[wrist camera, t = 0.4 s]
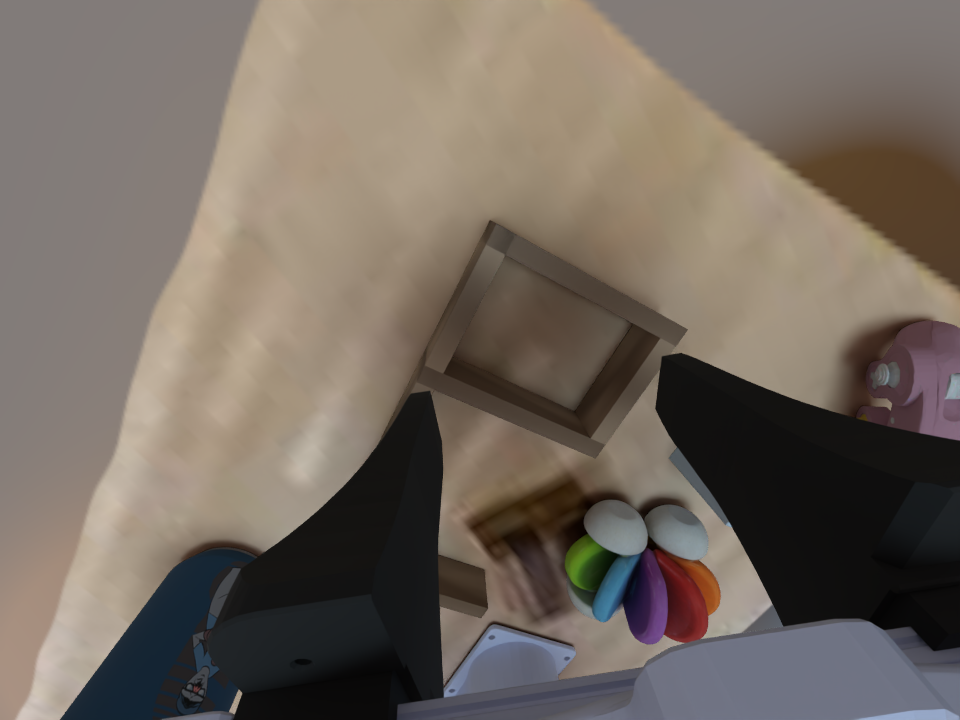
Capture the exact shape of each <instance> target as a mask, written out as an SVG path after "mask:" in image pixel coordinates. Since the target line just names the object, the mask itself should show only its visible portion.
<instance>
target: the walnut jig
mask: <svg viewBox="0 0 960 720" xmlns="http://www.w3.org/2000/svg"><path fill="white" fill-rule="evenodd" d="M505 255H506V256H508V257H510V258H512V259H514V260H516V261H517V262H519V263H521V264H523V265H525V266H527V267H529V268H530V269H532V270H534V271H536V272H538V273H540V274H542V275H544V276H545V277H547V278H549V279H551V280H553V281H555V282H557V283H558V284H560V285H562V286H564V287H566V288H568V289H570V290H572V291H573V292H575V293H577V294H579V295H581V296H583V297H585V298H586V299H588V300H590V301H592V302H594V303H596V304H598V305H600V306H601V307H603V308H605V309H607V310H609V311H611V312H613V313H614V314H616V315H618V316H620V317H622V318H624V319H626V320H627V321H629V322H631V323H633V325H632V327H631V328H630V330H629V331H628V333H627V334H626V336H625V337H624V339H623V340H622V342H621V343H620V345H619V346H618V348H617V349H616V351H615V352H614V354H613V355H612V357H611V358H610V360H609V361H608V363H607V364H606V366H605V367H604V369H603V370H602V372H601V373H600V375H599V376H598V378H597V379H596V381H595V382H594V384H593V385H592V387H591V388H590V390H589V391H588V393H587V394H586V396H585V397H584V399H583V400H582V402H581V403H580V405H579V406H578V408H577V409H576V411H575V412H574V411H572V410H570V409H567V408H565V407H563V406H561V405H559V404H556V403H554V402H552V401H550V400H547V399H545V398H543V397H541V396H539V395H536V394H534V393H532V392H530V391H528V390H525V389H523V388H521V387H519V386H517V385H514V384H512V383H510V382H508V381H506V380H503V379H501V378H499V377H497V376H495V375H492V374H490V373H488V372H486V371H484V370H481V369H479V368H477V367H475V366H472V365H470V364H468V363H466V362H464V361H461V360H459V359H457V358H455V357H453V354H454V352H455V350H456V348H457V346H458V345H459V343H460V341H461V339H462V337H463V335H464V333H465V331H466V329H467V327H468V326H469V324H470V322H471V320H472V318H473V316H474V314H475V312H476V310H477V308H478V307H479V305H480V303H481V301H482V299H483V297H484V295H485V293H486V291H487V289H488V288H489V286H490V284H491V282H492V280H493V278H494V276H495V274H496V272H497V270H498V269H499V267H500V265H501V263H502V261H503V259H504V257H505ZM687 330H688V329H686V328H684V327H682V326H680V325H679V324H677V323H675V322H673V321H671V320H670V319H668V318H666V317H664V316H662V315H661V314H659V313H657V312H655V311H653V310H652V309H650V308H648V307H646V306H644V305H643V304H641V303H639V302H637V301H635V300H633V299H632V298H630V297H628V296H626V295H624V294H623V293H621V292H619V291H617V290H615V289H614V288H612V287H610V286H608V285H606V284H605V283H603V282H601V281H599V280H597V279H596V278H594V277H592V276H590V275H588V274H587V273H585V272H583V271H581V270H579V269H578V268H576V267H574V266H572V265H570V264H568V263H567V262H565V261H563V260H561V259H559V258H558V257H556V256H554V255H552V254H550V253H549V252H547V251H545V250H543V249H541V248H540V247H538V246H536V245H534V244H532V243H531V242H529V241H527V240H525V239H523V238H522V237H520V236H518V235H516V234H514V233H512V232H511V231H509V230H507V229H505V228H503V227H502V226H500V225H498V224H496V223H494V222H492V221H490V222H489V224H488V226H487V228H486V230H485V232H484V234H483V236H482V238H481V240H480V242H479V244H478V246H477V248H476V250H475V252H474V254H473V256H472V258H471V260H470V262H469V264H468V266H467V268H466V270H465V272H464V274H463V276H462V278H461V280H460V282H459V284H458V286H457V288H456V290H455V292H454V294H453V296H452V298H451V300H450V302H449V304H448V306H447V308H446V310H445V312H444V314H443V316H442V318H441V320H440V322H439V324H438V326H437V328H436V330H435V332H434V334H433V336H432V338H431V340H430V342H429V344H428V346H427V348H426V350H425V352H424V354H423V356H422V358H421V360H420V362H419V364H418V366H417V368H416V370H415V372H414V374H413V376H412V378H411V380H410V382H409V384H408V386H407V388H406V390H405V392H404V394H403V396H402V398H401V400H400V402H399V404H398V406H397V408H396V410H395V412H394V414H393V416H392V418H391V420H390V422H389V424H388V426H387V428H386V430H385V432H384V434H383V436H382V438H383V437H384V435H385V434H386V432H387V431H388V429H389V428H390V426H391V425H392V423H393V421H394V420H395V418H396V417H397V415H398V413H399V412H400V410H401V408H402V406H403V405H404V403H405V401H406V399H407V398H408V396H409V395H410V394H411V393H417V392H424V391H430V392H431V396H432V394H433V392H434V390H436V391H438V392H441V393H443V394H445V395H448V396H450V397H452V398H455V399H457V400H460V401H462V402H464V403H467V404H469V405H471V406H474V407H476V408H478V409H481V410H483V411H485V412H488V413H490V414H492V415H495V416H497V417H499V418H502V419H504V420H506V421H509V422H511V423H513V424H516V425H518V426H520V427H523V428H525V429H527V430H530V431H532V432H534V433H537V434H539V435H541V436H544V437H546V438H548V439H551V440H553V441H556V442H558V443H560V444H563V445H565V446H567V447H570V448H572V449H574V450H577V451H579V452H581V453H584V454H586V455H588V456H591V457H593V458H595V459H596V457H597V456H598V454H599V453H600V452H601V450H602V449H603V447H604V446H605V445H606V443H607V442H608V440H609V439H610V438H611V436H612V435H613V434H614V432H615V431H616V429H617V428H618V427H619V425H620V424H621V422H622V421H623V420H624V418H625V417H626V415H627V414H628V413H629V411H630V410H631V408H632V407H633V406H634V404H635V403H636V401H637V400H638V399H639V397H640V396H641V394H642V393H643V392H644V390H645V389H646V387H647V386H648V385H649V383H650V382H651V380H652V379H653V378H654V376H655V375H656V374H657V372H658V371H659V369H660V367H661V358H662V356H666V355H670V354H671V353H672V351H673V350H674V348H675V347H676V346H677V344H678V343H679V341H680V340H681V339H682V337H683V336H684V334H685V333H686V332H687ZM382 438H381V440H382ZM381 440H380V441H381ZM379 443H380V442H379ZM438 572H439V603H440V606H441V607H444V608H447V609H451V610H454V611H458V612H461V613H465V614H468V615H471V616H475V617H478V618H482V616H483V615H484V614H485V612H486V611H487V609H488V603H487V593H486V582H485V572H484V570H483V569H480V568H477V567H474V566H471V565H468V564H464V563H461V562H458V561H455V560H452V559H449V558H446V557H443V556H440V555H438Z"/></svg>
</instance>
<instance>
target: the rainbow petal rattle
mask: <svg viewBox="0 0 960 720" xmlns="http://www.w3.org/2000/svg"><path fill="white" fill-rule="evenodd" d="M584 526H585V529H586V531H587V532H588V534H586V535H585V536H583V537H581V538H580V539H579V540H578V541H576V542H575V543H574V544H573V545H572V546H571V547H570V549H569V550H568V552H567V554H566V558H565V569H566V572H567V580H566V584H567V590H568V594H569V597H570V599H571V601H572V603H573V604H574V605H575V607H576V608H577V609H578V610H579V611H580V612H581V613H583V614H584V615H586V616H588V617H590V618H593V619H597V620H599V621H600V622H606V621H608V620H609V619H610V618H611V617H613V616H615V615H616V614H617V613H618V612H619V611H620V610H621V609H622V607H624V610H625V614H626V618H627V621H628V625H629V628H630V631H631V632H632V634H633V635H634V637H635V638H636V639H637V640H639V641H640V642H642V643H645V644H655V643H657V642H658V641H659V640H660V639H661V638H662V636H663V634H664V635H665V636H667V637H669V638H671V639H673V640H675V641H679V642H683V643H688V642H692V641H695V640H699V639H701V638H702V637H703V636H704V635H705V633H706V632H707V628H708V616H709V615H710V614H712V613H713V612H714V611H715V610H716V609H717V608H718V606H719V604H720V597H721V595H720V588H719V584H718V582H717V580H716V578H715V576H714V575H713V573H712V572H711V571H710V570H709V569H708V568H707V567H706V566H705V565H704V564H703V563H702V562H700V561H699V559H702V558H703V557H704V556H705V555H706V553H707V551H708V536H707V532H706V530H705V528H704V526H703V524H702V523H701V521H700V520H699V519H698V518H697V517H696V516H695V515H694V514H693V513H692V512H690V511H689V510H687V509H685V508H683V507H680V506H677V505H662V506H658V507H656V508H654V509H652V510H651V511H650V512H649V513H648V514H647V515H646V517H645V518H644V521H643V519H642V517H641V516H640V514H639V513H638V512H637V511H636V510H635V509H634V508H633V507H631V506H630V505H628V504H626V503H624V502H622V501H618V500H604V501H600V502H598V503H596V504H595V505H593V506H592V507H591V508H590V509H589V510H588V512H587V513H586V515H585V517H584Z"/></svg>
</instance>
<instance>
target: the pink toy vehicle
mask: <svg viewBox="0 0 960 720" xmlns="http://www.w3.org/2000/svg"><path fill="white" fill-rule="evenodd" d="M866 385H867V389H868V391H869V393H870V394H871V395H872V396H873V397H874V398H887V399H888V400H889V401H890V402H891V403H892V408H891V411H890V410H889V409H888V408H886V407H872V406H861V407H860V408H859V410H858V412H857V415H856V418H857V419H861V420H865V421H869V422H873V423H877V424H881V425H885V426H889V427H894V428H898V429H903V430H907V431H912V432H917V433H922V434H928V435H933V436H938V437H943V438H948V439H954V440H960V328H958V327H957V326H955V325H952V324H948V323H945V322H939V321H921V322H917V323H913V324H911V325H908V326H906V327H904V328H903V329H901V330H900V331H899V333H898V334H897V336H896V337H895V340H894V342H893V345H892V347H891V348H890V349H889V350H888V352H887V353H886V354H885V356H884V357H883V358H882V359H881V360H880V361H874V362H871V363H870V364H869V366H868V369H867V374H866Z"/></svg>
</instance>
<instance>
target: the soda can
mask: <svg viewBox="0 0 960 720" xmlns="http://www.w3.org/2000/svg"><path fill="white" fill-rule="evenodd" d="M256 558H257V556H256V555H254V554H252V553H250V552H247V551H245V550H241V549H237V548H230V547H219V548H213V549H209V550H206V551H204V552H201V553H199V554H197V555H195V556H193V557H191V558H189V559H187V560H185V561H183V562H181V563H180V564H178V565H177V566H176V567H174V568H173V569H172V570H171V571H170V572H169V574H168V575H167V576H166V578H165V579H164V581H163V582H162V583H161V585H160V586H159V587H158V589H157V590H156V591H155V593H154V594H153V595H152V597H151V598H150V599H149V601H148V602H147V603H146V605H145V606H144V607H143V609H142V610H141V611H140V613H139V614H138V615H137V617H136V618H135V620H134V621H133V622H132V624H131V625H130V626H129V628H128V629H127V630H126V632H125V633H124V634H123V636H122V637H121V638H120V640H119V641H118V642H117V644H116V645H115V646H114V648H113V649H112V650H111V652H110V653H109V655H108V656H107V657H106V659H105V660H104V661H103V663H102V664H101V665H100V667H99V668H98V669H97V671H96V672H95V673H94V675H93V676H92V677H91V679H90V680H89V681H88V683H87V684H86V685H85V687H84V688H83V689H82V691H81V692H80V694H79V695H78V696H77V698H76V699H75V700H74V702H73V703H72V704H71V706H70V707H69V708H68V710H67V711H66V712H65V714H64V715H63V716H62V718H61V719H60V720H162V719H166V718H173V717H179V716H186V715H192V714H199V713H205V712H212V711H224V712H229V710H230V708H231V706H232V703H233V701H234V699H235V696H236V694H237V692H238V688H237V687H236V686H235V685H234V684H233V683H232V682H231V681H230V680H229V679H228V677H227V676H226V675H225V674H224V673H223V672H222V671H221V670H220V669H219V668H218V667H217V666H216V665H215V663H214V662H213V660H212V659H211V657H210V656H209V654H208V652H207V640H208V637H209V635H210V633H211V631H212V629H213V626H214V624H215V622H216V620H217V617H218V615H219V613H220V611H221V609H222V606H223V604H224V602H225V600H226V597H227V595H228V593H229V591H230V588H231V587H232V585H233V583H234V581H235V579H236V577H237V575H238V573H239V572H240V570H241V568H243V567H244V566H246V565H247V564H249V563H250V562H252V561H253V560H254V559H256Z"/></svg>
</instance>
